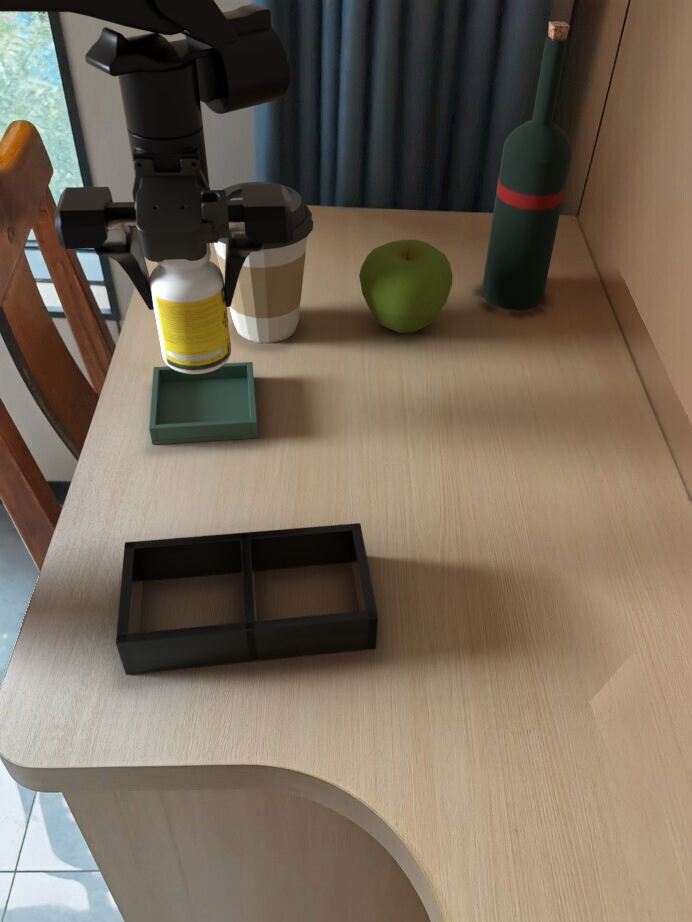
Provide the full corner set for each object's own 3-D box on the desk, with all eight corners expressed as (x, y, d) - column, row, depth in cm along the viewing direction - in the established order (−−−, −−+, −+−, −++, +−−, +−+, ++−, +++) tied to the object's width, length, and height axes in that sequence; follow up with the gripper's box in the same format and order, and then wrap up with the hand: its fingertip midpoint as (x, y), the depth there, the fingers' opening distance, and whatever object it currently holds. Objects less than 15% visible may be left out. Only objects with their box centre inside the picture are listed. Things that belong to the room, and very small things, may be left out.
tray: (152, 444, 78) (148, 428, 76) (156, 382, 85) (153, 366, 83) (258, 437, 79) (257, 422, 78) (253, 377, 86) (252, 361, 85)
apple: (385, 292, 100) (389, 215, 93) (462, 316, 97) (472, 238, 90) (341, 332, 93) (342, 252, 86) (422, 360, 90) (429, 279, 83)
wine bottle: (526, 268, 106) (574, 7, 85) (551, 308, 99) (611, 35, 78) (469, 271, 105) (503, 7, 83) (490, 312, 98) (534, 35, 76)
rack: (125, 675, 59) (115, 643, 56) (133, 574, 66) (124, 541, 63) (376, 648, 62) (378, 617, 59) (359, 555, 69) (360, 522, 66)
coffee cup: (335, 328, 94) (336, 202, 83) (260, 366, 87) (251, 236, 77) (271, 290, 99) (264, 168, 88) (196, 324, 93) (179, 197, 82)
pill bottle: (234, 374, 75) (222, 259, 66) (163, 380, 74) (141, 263, 65) (229, 336, 79) (218, 223, 71) (162, 341, 78) (142, 226, 70)
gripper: (20, 170, 55) (72, 362, 66) (295, 166, 57) (300, 351, 68) (43, 112, 62) (86, 292, 73) (284, 111, 65) (290, 285, 76)
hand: (190, 306), depth 72 cm, fingers closed on pill bottle, 6 cm apart
